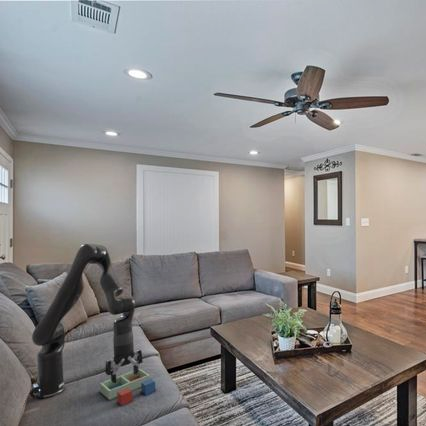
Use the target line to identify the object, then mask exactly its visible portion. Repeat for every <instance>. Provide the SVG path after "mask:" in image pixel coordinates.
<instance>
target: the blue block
mask: <svg viewBox="0 0 426 426" xmlns="http://www.w3.org/2000/svg"><path fill="white" fill-rule="evenodd" d="M140 388H141V393H142V394H143V395H145V396H147V395H148V394H149V395H150V394H151V393H153V392H156V381H155V380H153V379H152V378H150V379H149V380H146V381H144V382H141V387H140Z"/></svg>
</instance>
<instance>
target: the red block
mask: <svg viewBox="0 0 426 426" xmlns="http://www.w3.org/2000/svg"><path fill="white" fill-rule="evenodd" d="M117 396H118V397H117V403H118V404H119V405H120V406H124V405H126V404H128V403H131V402H133V390H132V391H131V390H130V389H129V388H127V389H124V390H122V391H119V392H117Z"/></svg>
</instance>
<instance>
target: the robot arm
mask: <svg viewBox="0 0 426 426" xmlns="http://www.w3.org/2000/svg"><path fill="white" fill-rule="evenodd" d="M87 265H97V266H98V267H99V269H100V271H101V273H100V278H99V284H100V288H101V290H102V292H103V294H104V295H105V299H106V304H107V305H106V306H107V307H106V308H107V312H108V313H109V314H110V315H113V316H117V315H121V316H119V317H118V318H117V319H115V320H114V321H113V324H112V325H113V339H112V340H113V341H112V342H113V358H111V359H106V360H105V369H104V370H105V374H106V375H107V376H110V379H111V381H112V382H113V383H116V377H117V372H118V370H119V369H120V368H121V367H124V366H127V365H130V363H131V364H132V368H133V370H132V371H134V374H135V375H136V374H137V373H138V369H139V365H141V364H142V363H143V362H144V361H143V352H142V349H139V348H137V349H136V350H135V351H134V333H133V318H134V315H135V314H134V313H135V309H136V299H135V297H133V295H129V294H128V295H125V296H122V294H123V293H124V287H123V285H122V284H121V282H120V280H119V278H118V277H117V275H116V273H115V269H114V266H113V262H112V260H111V256H110V253H109V251H108V248H107V247H106V246H104V245H101V244H93V243H84V244H82V245H81V246H80V247H79V248H78V250H77V251H76V254H75V256H74V259H73V261H72V264H71V266H70V268H69V270H68V272H67V273H66V275H65V277H64V280H63V282H62V283H61V285H60V286H59V288H58V290H57V292H56V294H55V296H54V298H53V299H52V301H51V303H50V305H49V306H48V308H47V311H46V313H44V315H43V317H42V318H41V320H40V322H39V323H38V324H37V325H36V327H35V328H34V330H33V331H32V334H31V340H32V342H33V344H34V345H36V346H37V347H41V346H42V347H41V348H40V350H39V351H38V352H37V354H36V355H37V356H36V360H37V361H36V362H37V374H36V383H34V384H31V386H32V387H31V388H32V389H31V390H30V392H29V396H30V397H31V398H32V399H34V398H36V394H37V396H38V398H39V399H40V400H42V399H46V398H50V397H54V396H56V395H59V394H61V393H62V392H63V391H64V390H65V381H64V380H65V379H64V358H63V350H64V348H65V342H66V341H65V339H66V338H65V337H66V331H65V326H64V324H63V323H62V322H61V321H62V320H63V319H64V318H65V317H66V316H67V314H69V312H70V311H71V310H72V309H73V308H74V307H75V305H76V304H77V303H78V301H79V299H80V298H81V296H82V294H83V292H84V290H85V284H84V278H83V274H84V271H85V269H86V267H87ZM135 356H136V357H137V358H136V360H135V359H134V357H135ZM113 363H114V364H113ZM112 365H113V366H112Z"/></svg>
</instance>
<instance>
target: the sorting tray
mask: <svg viewBox="0 0 426 426" xmlns="http://www.w3.org/2000/svg"><path fill="white" fill-rule="evenodd" d="M149 379H151V375H150V374H149V373H147V372H146V371H144V370H142V369H141V368H138V373H137V374H136V375H135V374H134V371H133V370H132V371H129V372H126V373H124V374H121V375H118V376H116V383H113V382H112V381H111V378H110V379H108V380H105V381H102V382H100V383H99V392H100V393H101V394H102V395H104V397H106V398H107V399H108V400H109V401H111V400H113V399H116V398H118V396H117V392H119V391H122V390H124V389H127V388H129V389H130V390H131V391H132V392H133V391H134V390H136V389H139V388H141V382H144V381H146V380H149Z"/></svg>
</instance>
